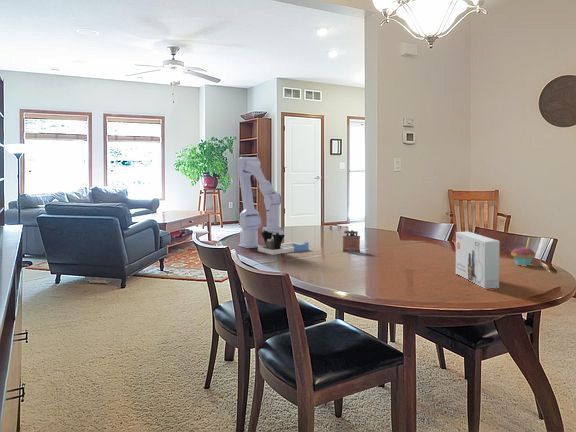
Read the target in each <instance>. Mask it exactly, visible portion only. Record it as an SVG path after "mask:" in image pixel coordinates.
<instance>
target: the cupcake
mask: <svg viewBox="0 0 576 432" xmlns="http://www.w3.org/2000/svg"><path fill="white" fill-rule="evenodd" d="M530 237H531V235H529V237H527V241H526V246H525V247H516V248H514V249H512V250H511V253H510V255H511V256H512V257H513V260H514V263H515V265H516V264H521V265H529V266H530V265H531V262H532V261H533V259H534V258H536V252H535V251H534V250H532V249H531V248H529V243H530V240H531V238H530Z"/></svg>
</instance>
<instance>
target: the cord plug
mask: <svg viewBox="0 0 576 432" xmlns="http://www.w3.org/2000/svg"><path fill="white" fill-rule="evenodd" d="M265 246H266V248H267V249H271V250H275V243H274V238H273V237H272V238H271V239H267V241H266V245H265Z"/></svg>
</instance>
